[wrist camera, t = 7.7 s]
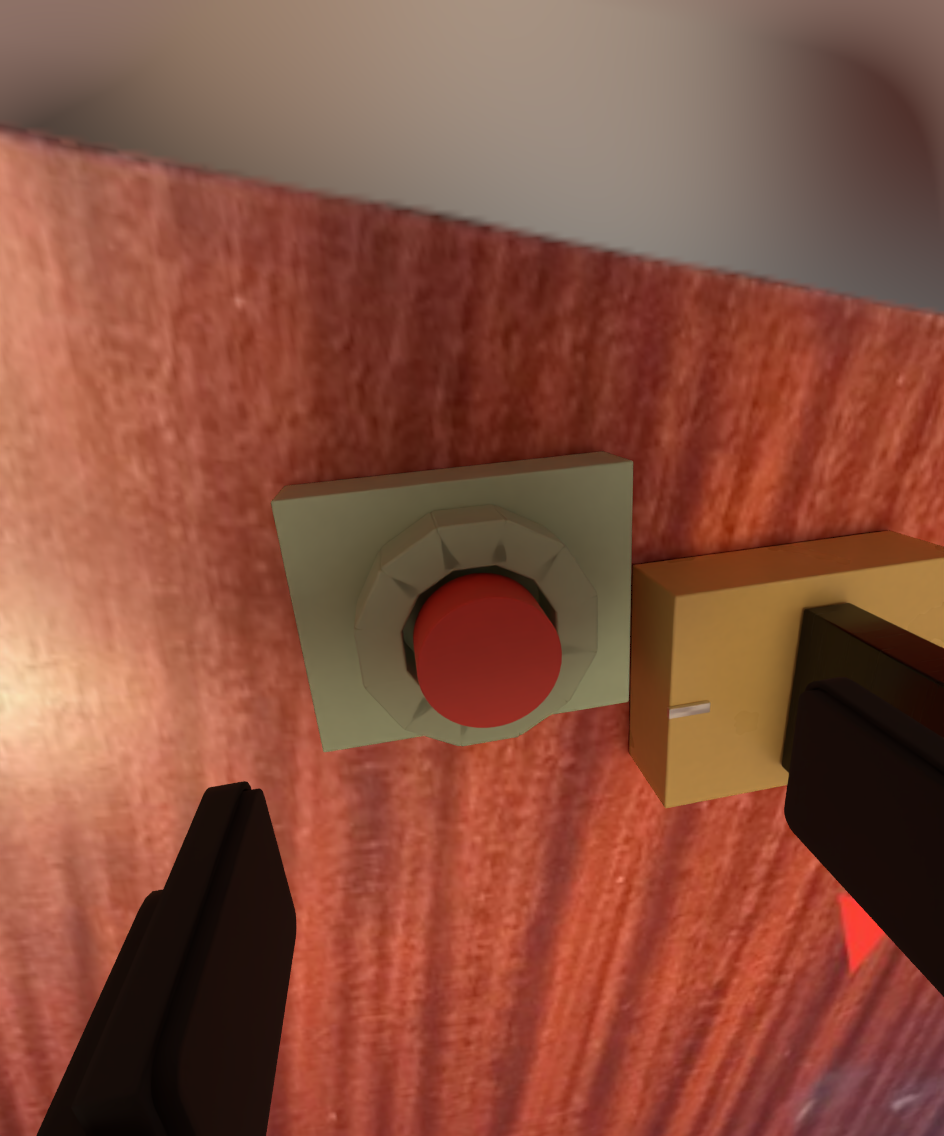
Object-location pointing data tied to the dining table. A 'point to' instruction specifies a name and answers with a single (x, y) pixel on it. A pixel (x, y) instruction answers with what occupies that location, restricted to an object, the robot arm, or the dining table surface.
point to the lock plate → (752, 650)
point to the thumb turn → (868, 664)
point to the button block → (440, 554)
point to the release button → (485, 651)
